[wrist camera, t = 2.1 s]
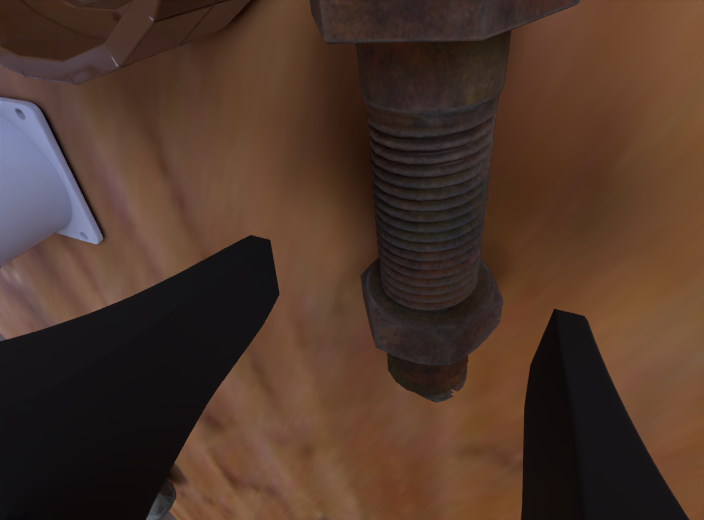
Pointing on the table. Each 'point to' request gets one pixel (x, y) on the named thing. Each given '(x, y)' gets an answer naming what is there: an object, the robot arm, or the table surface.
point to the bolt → (430, 171)
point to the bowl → (100, 33)
